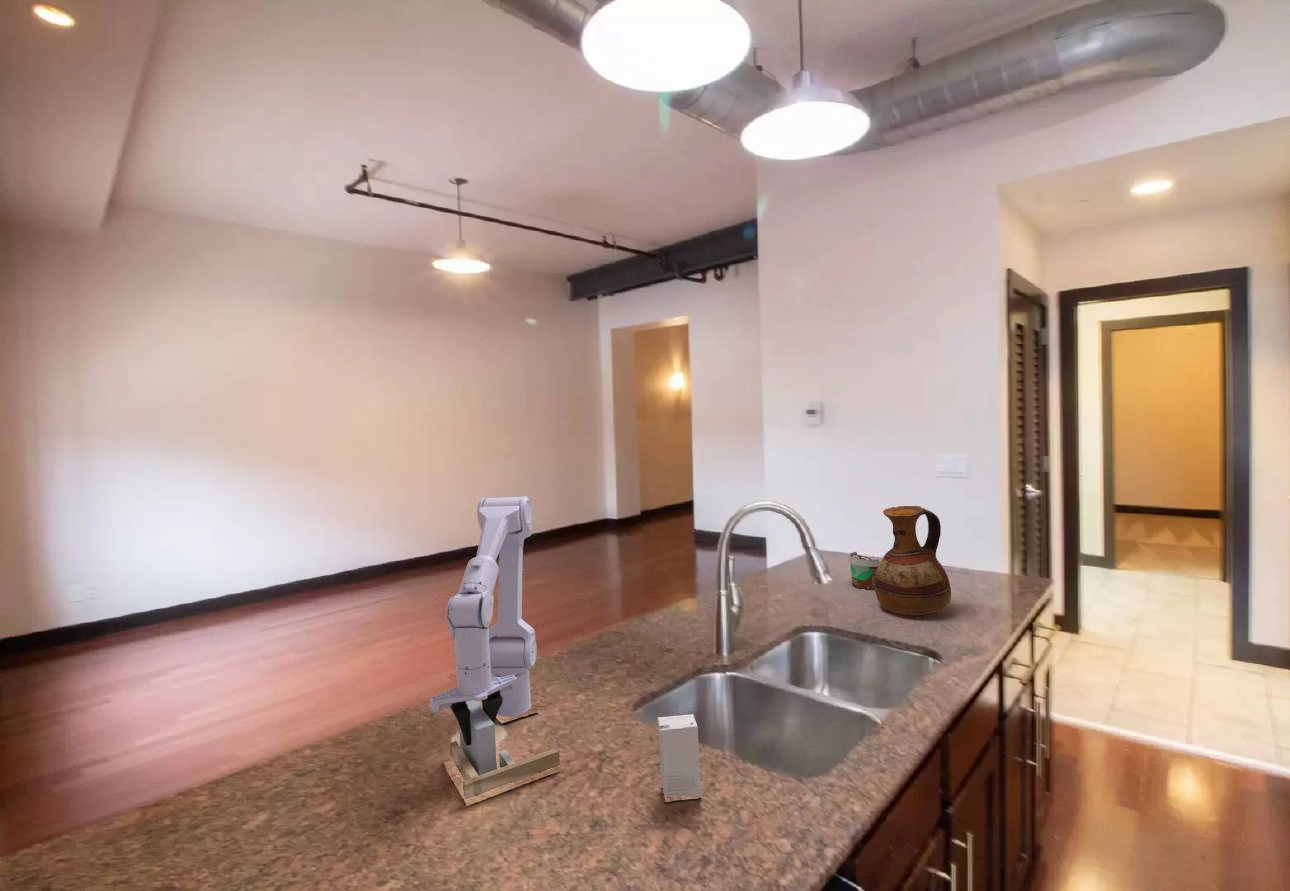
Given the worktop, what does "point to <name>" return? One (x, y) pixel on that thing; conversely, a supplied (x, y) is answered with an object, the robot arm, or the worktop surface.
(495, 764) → the book
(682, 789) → the skincare box
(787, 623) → the worktop surface
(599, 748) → the worktop surface
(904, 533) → the ceramic pitcher
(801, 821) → the worktop surface
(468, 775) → the book rack
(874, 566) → the food container
